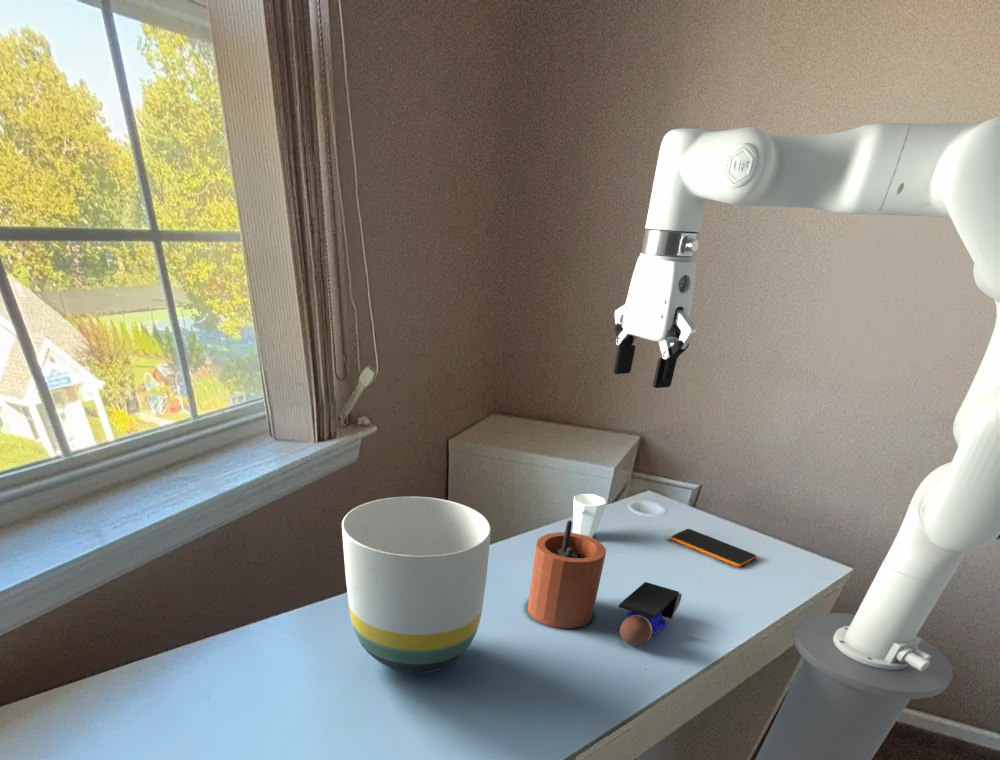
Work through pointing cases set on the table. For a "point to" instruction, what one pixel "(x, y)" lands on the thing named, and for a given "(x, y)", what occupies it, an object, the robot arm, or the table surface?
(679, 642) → the table surface
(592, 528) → the cup
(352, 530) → the planter
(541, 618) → the jar
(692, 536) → the smartphone
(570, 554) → the two-way radio
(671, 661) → the table surface
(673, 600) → the figurine character
